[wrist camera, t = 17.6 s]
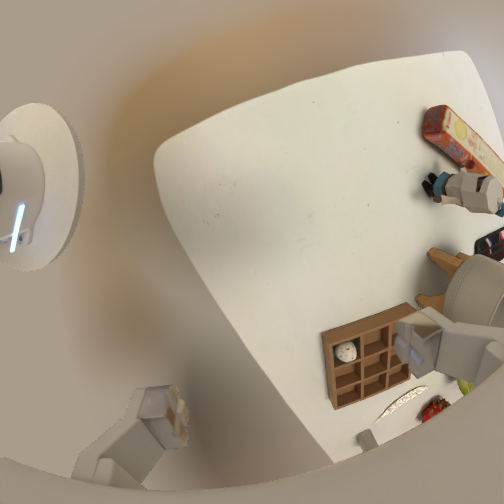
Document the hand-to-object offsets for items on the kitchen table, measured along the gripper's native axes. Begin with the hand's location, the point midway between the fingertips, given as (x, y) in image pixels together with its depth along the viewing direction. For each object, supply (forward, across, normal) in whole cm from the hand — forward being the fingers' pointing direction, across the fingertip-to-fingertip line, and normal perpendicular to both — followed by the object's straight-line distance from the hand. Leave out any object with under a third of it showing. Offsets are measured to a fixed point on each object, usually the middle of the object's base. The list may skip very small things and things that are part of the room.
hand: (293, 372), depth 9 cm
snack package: (+26, -40, -5) cm, 48 cm away
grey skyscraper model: (+27, -16, +54) cm, 63 cm away
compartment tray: (+27, -16, +26) cm, 41 cm away
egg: (+26, -11, +21) cm, 36 cm away
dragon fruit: (+26, -36, +56) cm, 72 cm away
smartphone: (+26, -50, +15) cm, 58 cm away
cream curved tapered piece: (+27, -25, +45) cm, 58 cm away
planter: (+27, -32, +16) cm, 45 cm away
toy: (+27, -31, 0) cm, 41 cm away
